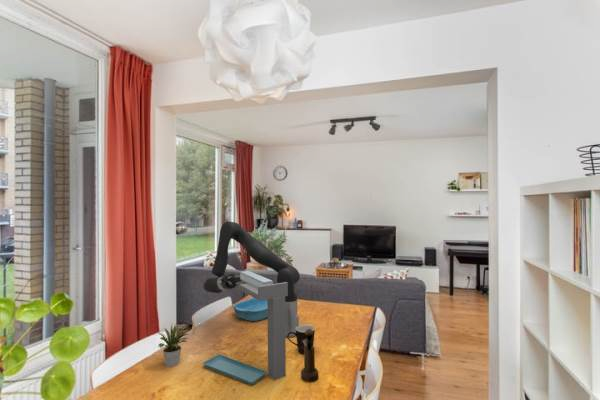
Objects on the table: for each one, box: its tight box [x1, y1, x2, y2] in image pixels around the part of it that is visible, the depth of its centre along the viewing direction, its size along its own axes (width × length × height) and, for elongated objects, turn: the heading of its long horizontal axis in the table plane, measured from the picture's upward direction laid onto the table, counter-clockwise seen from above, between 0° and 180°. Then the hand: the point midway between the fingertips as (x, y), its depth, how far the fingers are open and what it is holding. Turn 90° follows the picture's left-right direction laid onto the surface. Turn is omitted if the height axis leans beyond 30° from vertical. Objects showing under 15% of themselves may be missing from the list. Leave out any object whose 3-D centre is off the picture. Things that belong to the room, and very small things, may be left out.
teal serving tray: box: [202, 353, 268, 386], centre depth 125 cm, size 26×9×2 cm, turn 58°
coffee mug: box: [286, 324, 316, 356], centre depth 142 cm, size 12×9×10 cm
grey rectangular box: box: [239, 270, 274, 288], centre depth 134 cm, size 24×4×3 cm, turn 32°
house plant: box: [153, 322, 189, 368], centre depth 130 cm, size 14×14×16 cm
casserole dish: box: [232, 297, 268, 322], centre depth 194 cm, size 37×22×7 cm, turn 145°
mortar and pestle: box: [300, 329, 319, 383], centre depth 120 cm, size 7×6×18 cm
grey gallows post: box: [238, 282, 288, 381], centre depth 128 cm, size 20×12×35 cm, turn 32°
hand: (242, 277), depth 150 cm, fingers open, 8 cm apart
